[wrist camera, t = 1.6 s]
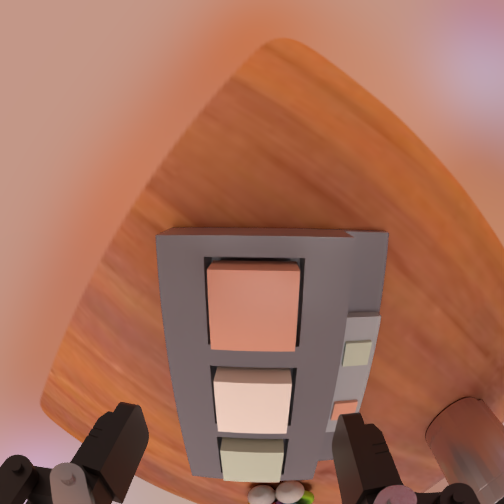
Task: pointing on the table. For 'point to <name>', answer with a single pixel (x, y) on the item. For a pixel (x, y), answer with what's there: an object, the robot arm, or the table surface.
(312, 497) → the rainbow petal flower toy
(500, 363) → the table surface
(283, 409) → the key cream
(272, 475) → the key sage
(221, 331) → the key terracotta
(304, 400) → the keypad
